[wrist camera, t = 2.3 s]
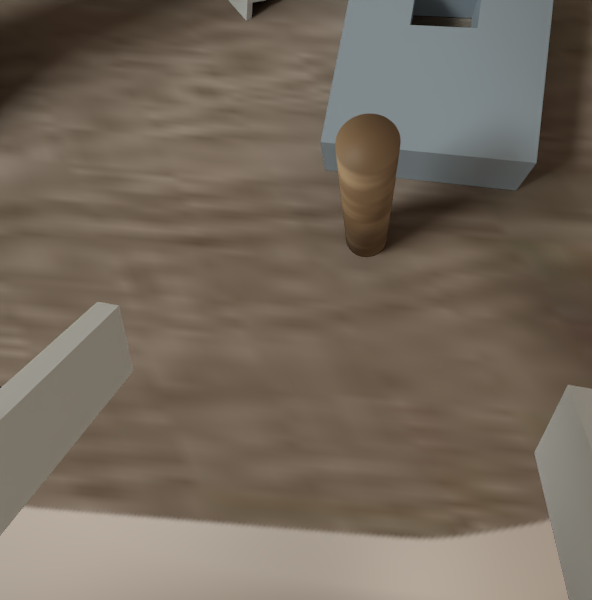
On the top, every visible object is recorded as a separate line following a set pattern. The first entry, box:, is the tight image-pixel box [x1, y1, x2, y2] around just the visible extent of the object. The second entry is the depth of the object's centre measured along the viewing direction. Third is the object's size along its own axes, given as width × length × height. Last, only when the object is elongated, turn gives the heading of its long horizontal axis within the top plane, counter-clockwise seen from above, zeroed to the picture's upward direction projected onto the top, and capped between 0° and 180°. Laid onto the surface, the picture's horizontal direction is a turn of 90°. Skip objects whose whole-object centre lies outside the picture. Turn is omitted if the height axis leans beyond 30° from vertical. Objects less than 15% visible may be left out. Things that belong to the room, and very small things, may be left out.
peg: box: [335, 113, 401, 257], centre depth 27 cm, size 3×3×13 cm
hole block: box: [321, 0, 553, 191], centre depth 34 cm, size 24×14×4 cm, turn 169°
